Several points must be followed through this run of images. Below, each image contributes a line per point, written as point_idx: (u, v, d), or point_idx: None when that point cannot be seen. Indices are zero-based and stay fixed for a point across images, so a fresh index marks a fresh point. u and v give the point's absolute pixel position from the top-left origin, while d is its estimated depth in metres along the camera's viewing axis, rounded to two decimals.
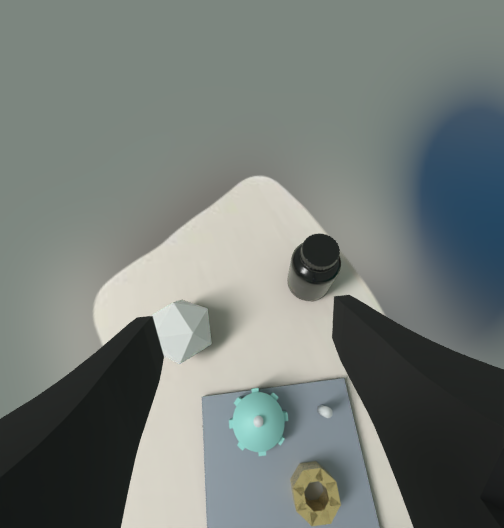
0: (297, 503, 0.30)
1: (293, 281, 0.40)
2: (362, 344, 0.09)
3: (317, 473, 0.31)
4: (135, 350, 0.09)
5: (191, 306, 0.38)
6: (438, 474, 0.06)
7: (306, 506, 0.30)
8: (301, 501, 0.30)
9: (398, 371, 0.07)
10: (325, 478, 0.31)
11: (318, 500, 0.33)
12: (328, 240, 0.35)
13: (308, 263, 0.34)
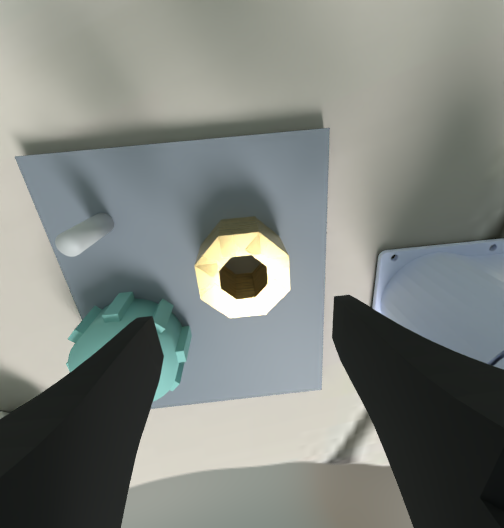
0: (254, 311, 0.16)
1: None
2: (362, 344, 0.09)
3: (204, 272, 0.15)
4: (135, 350, 0.09)
5: None
6: (438, 474, 0.06)
7: (259, 296, 0.15)
8: (251, 304, 0.16)
9: (398, 371, 0.07)
10: (213, 258, 0.14)
11: None
12: None
13: None
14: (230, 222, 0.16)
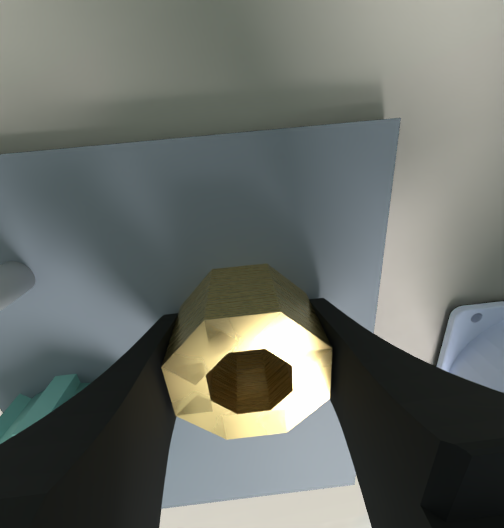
0: (267, 429, 0.09)
1: None
2: None
3: (181, 377, 0.08)
4: (166, 347, 0.09)
5: None
6: (389, 480, 0.06)
7: (277, 409, 0.09)
8: (263, 420, 0.09)
9: (358, 376, 0.07)
10: (195, 355, 0.08)
11: None
12: None
13: None
14: (227, 278, 0.09)
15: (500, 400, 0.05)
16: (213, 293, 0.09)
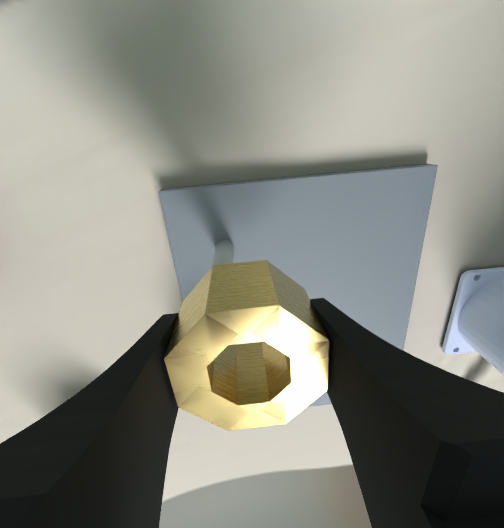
0: (267, 420, 0.10)
1: None
2: (330, 347, 0.09)
3: (183, 369, 0.08)
4: (166, 347, 0.09)
5: None
6: (389, 480, 0.06)
7: (276, 400, 0.09)
8: (262, 411, 0.09)
9: (357, 376, 0.07)
10: (196, 347, 0.08)
11: None
12: None
13: None
14: (227, 273, 0.10)
15: (500, 400, 0.05)
16: (214, 288, 0.09)
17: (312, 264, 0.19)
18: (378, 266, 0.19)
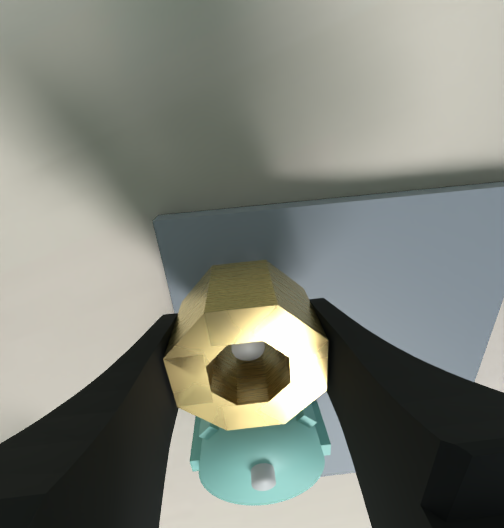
0: (266, 420, 0.10)
1: None
2: (330, 348, 0.09)
3: (182, 368, 0.08)
4: (166, 347, 0.09)
5: None
6: (389, 480, 0.06)
7: (275, 400, 0.09)
8: (262, 411, 0.09)
9: (358, 376, 0.07)
10: (195, 347, 0.08)
11: None
12: None
13: None
14: (226, 273, 0.10)
15: (500, 400, 0.05)
16: (213, 288, 0.09)
17: (360, 312, 0.14)
18: (445, 313, 0.15)
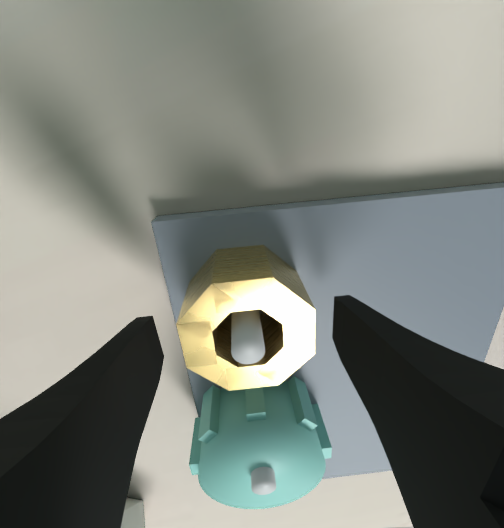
0: (263, 381, 0.11)
1: None
2: (362, 344, 0.09)
3: (192, 333, 0.10)
4: (135, 350, 0.09)
5: None
6: (438, 474, 0.06)
7: (270, 363, 0.11)
8: (259, 373, 0.11)
9: (398, 371, 0.07)
10: (203, 313, 0.10)
11: None
12: None
13: None
14: (229, 255, 0.11)
15: None
16: (218, 266, 0.10)
17: None
18: (447, 315, 0.14)
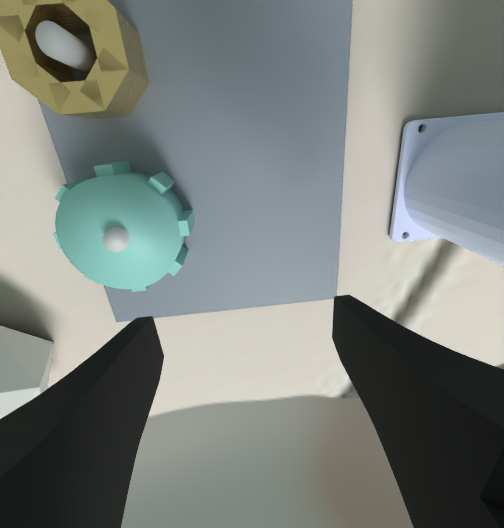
0: (89, 105, 0.12)
1: None
2: (362, 344, 0.09)
3: (6, 31, 0.11)
4: (135, 350, 0.09)
5: None
6: (438, 474, 0.06)
7: (90, 79, 0.12)
8: (82, 93, 0.12)
9: (398, 371, 0.07)
10: (11, 4, 0.11)
11: None
12: None
13: None
14: None
15: None
16: None
17: (212, 94, 0.15)
18: (295, 101, 0.16)
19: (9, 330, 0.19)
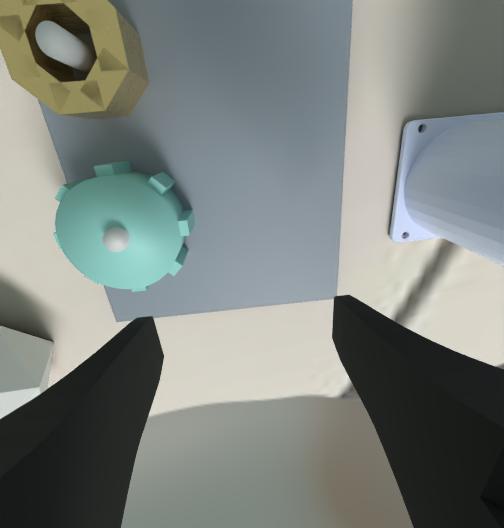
0: (89, 105, 0.12)
1: None
2: (362, 344, 0.09)
3: (6, 31, 0.11)
4: (135, 350, 0.09)
5: None
6: (438, 474, 0.06)
7: (90, 79, 0.12)
8: (82, 92, 0.12)
9: (398, 371, 0.07)
10: (11, 4, 0.11)
11: None
12: None
13: None
14: None
15: None
16: None
17: (212, 94, 0.15)
18: (295, 101, 0.16)
19: (9, 330, 0.19)
